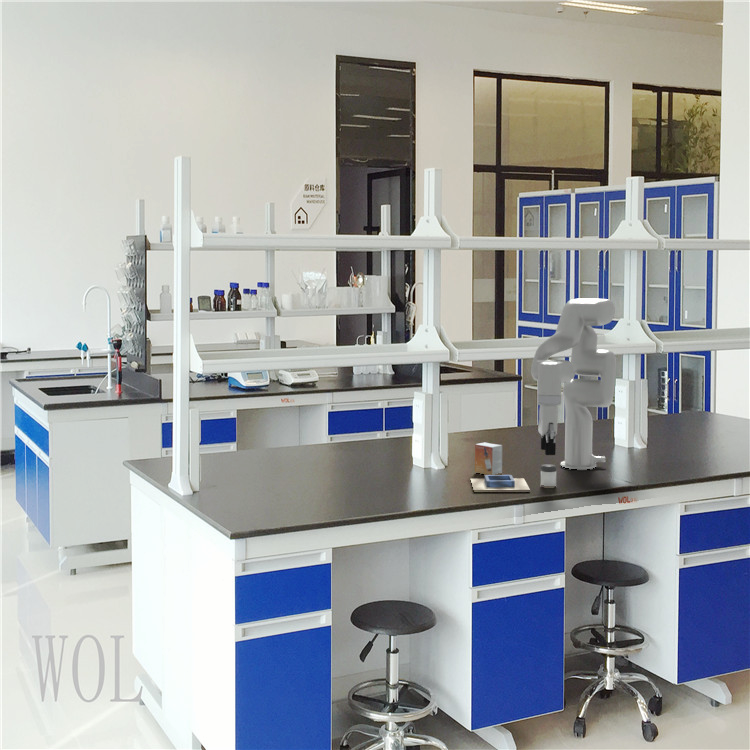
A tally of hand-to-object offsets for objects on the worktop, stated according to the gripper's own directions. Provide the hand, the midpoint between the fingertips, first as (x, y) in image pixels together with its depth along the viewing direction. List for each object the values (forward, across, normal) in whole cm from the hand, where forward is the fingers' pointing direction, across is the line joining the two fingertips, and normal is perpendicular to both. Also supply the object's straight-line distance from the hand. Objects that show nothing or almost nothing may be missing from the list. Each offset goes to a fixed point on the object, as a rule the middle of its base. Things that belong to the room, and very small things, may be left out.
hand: (548, 452), depth 321 cm
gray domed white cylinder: (+12, -1, 0) cm, 12 cm away
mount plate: (+12, -1, -16) cm, 20 cm away
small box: (+12, -20, -18) cm, 29 cm away
